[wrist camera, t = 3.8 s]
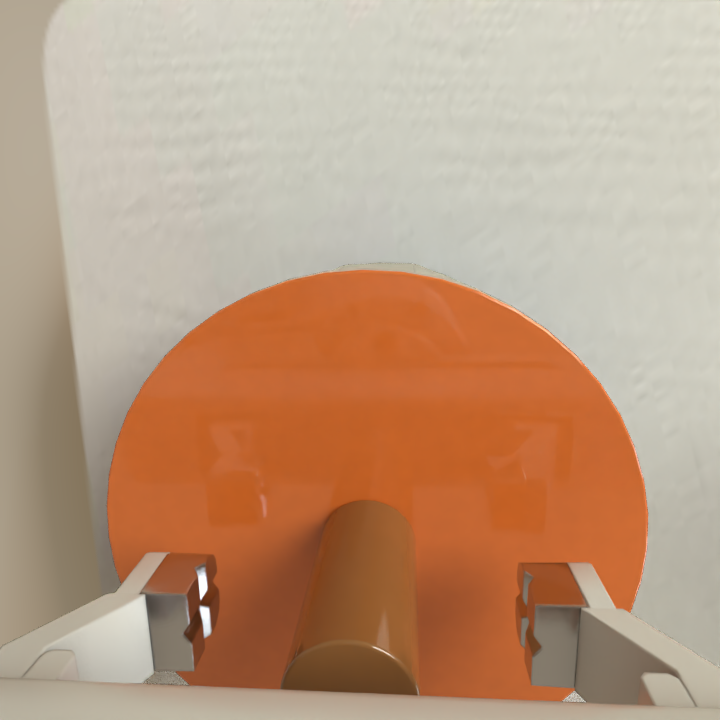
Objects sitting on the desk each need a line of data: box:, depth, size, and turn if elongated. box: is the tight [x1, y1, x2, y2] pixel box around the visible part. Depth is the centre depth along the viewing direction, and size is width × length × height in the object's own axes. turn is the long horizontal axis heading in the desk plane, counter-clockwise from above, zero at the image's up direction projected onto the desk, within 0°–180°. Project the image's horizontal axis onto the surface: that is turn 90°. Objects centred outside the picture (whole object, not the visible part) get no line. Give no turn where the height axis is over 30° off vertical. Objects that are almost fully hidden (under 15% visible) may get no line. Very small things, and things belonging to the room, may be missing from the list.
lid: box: [107, 268, 648, 701], centre depth 13 cm, size 14×14×6 cm
